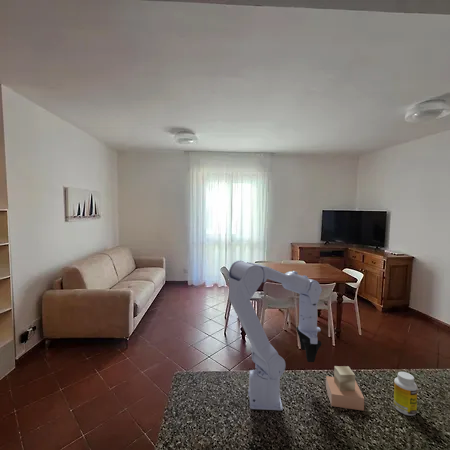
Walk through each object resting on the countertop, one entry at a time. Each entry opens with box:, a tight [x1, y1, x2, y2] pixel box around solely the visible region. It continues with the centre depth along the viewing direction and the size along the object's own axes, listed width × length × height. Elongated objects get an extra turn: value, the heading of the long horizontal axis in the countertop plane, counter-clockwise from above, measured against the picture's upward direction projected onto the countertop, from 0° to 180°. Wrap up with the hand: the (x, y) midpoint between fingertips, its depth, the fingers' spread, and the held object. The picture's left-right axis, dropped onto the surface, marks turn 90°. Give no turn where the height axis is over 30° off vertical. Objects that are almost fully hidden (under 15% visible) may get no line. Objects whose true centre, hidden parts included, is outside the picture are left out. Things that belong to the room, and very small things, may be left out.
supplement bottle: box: [393, 371, 418, 417], centre depth 75 cm, size 6×6×10 cm
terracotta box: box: [325, 375, 365, 411], centre depth 80 cm, size 9×9×4 cm
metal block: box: [333, 365, 356, 391], centre depth 80 cm, size 4×4×5 cm
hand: (307, 355), depth 86 cm, fingers open, 7 cm apart
